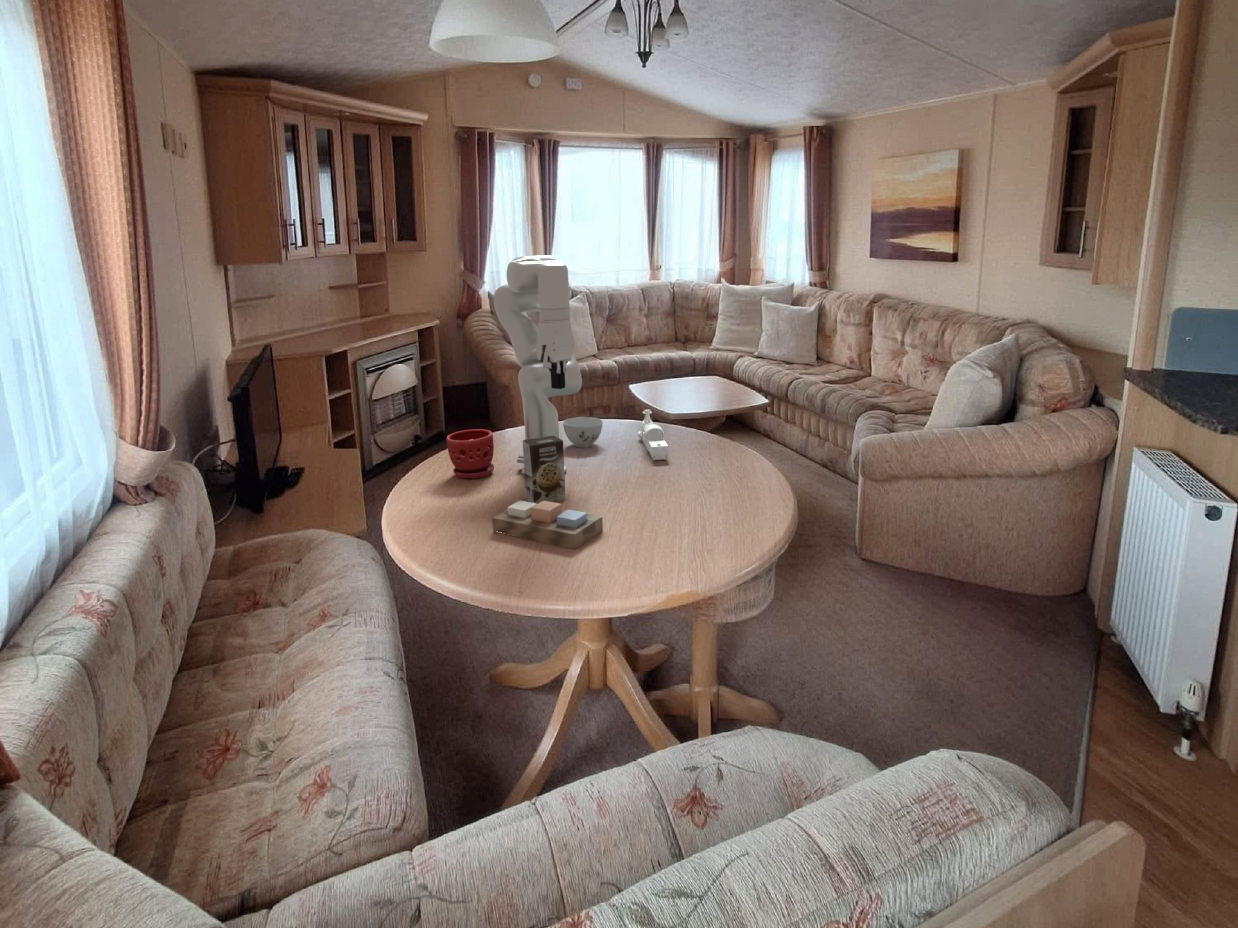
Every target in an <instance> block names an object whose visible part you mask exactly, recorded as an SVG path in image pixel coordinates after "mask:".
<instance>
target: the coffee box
mask: <svg viewBox="0 0 1238 928" xmlns="http://www.w3.org/2000/svg"><path fill="white" fill-rule="evenodd" d="M522 449H523V450H522V452H523V453H522V455H523V456H524V463H523V468H524V475H525V476H524V475H523V476H524V491H525V493H524V494H525V499H526V501H527V502H531V503H536V504H538V503H540V502H542V501H549V502H554V503H555V502H558V501H563V500H564V501H565V500H566V499H567V498H566V495H567V494H566V479H565V478H566V477H565V476H566V472H564V465H565V453H564V452H565V451H564V440H562V439H561V438H560V437H559V438H557V437H555V436H548V437H541V438H535V439H528V440H526V439H524V440H522Z"/></svg>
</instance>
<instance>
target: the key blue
mask: <svg viewBox="0 0 1238 928" xmlns="http://www.w3.org/2000/svg"><path fill="white" fill-rule="evenodd" d="M566 510H567V511H565V512H564V513H562V514H560V515H559V516H557V525H562V526H567V527H572V528H577V527H579V526H580V525H582V524H583V523H585V522H587V514H588V513H587V512H584V511H579V510H573V509H566Z"/></svg>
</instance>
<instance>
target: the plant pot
mask: <svg viewBox="0 0 1238 928" xmlns="http://www.w3.org/2000/svg"><path fill="white" fill-rule="evenodd" d="M445 440H446V447H447V451H448V455H449V458H450V461H451V463H452V465H453V466H454V468H453V471H452V472H453V474H454V475H455V476H456V477H458V478H461V477H462V479H463V478H465V479H469V478H471V479H478V478H479V477H480V478H483V477H487V476H489V475H491V474H492V473H493V471H494V469H495V465H494V464H493V463H492V461H493V458H494V452H495V451H494V448H495V446H494V435H493V432H492V431H491V430H489V429H484V428H483V429H482V428H481V429H480V428H479V429H474V428H473V429H465V430H460V431H455V432H453V433H450V434H448V435H447V437H446V439H445Z"/></svg>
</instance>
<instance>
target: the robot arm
mask: <svg viewBox="0 0 1238 928" xmlns="http://www.w3.org/2000/svg"><path fill="white" fill-rule="evenodd" d="M506 281H507V284H503V285H501V286H499V287H498V288H497V289H496V290H495V291H494V293H493V305H494V309H495V313H496V316H497V318H498V320H499V322H500V324H501V326H502V327H503V329H504V330H505V331H506V333H507V334H508V336H509V339H510V342H511V346H512V349H513V352H514V355H515V358H516V361H517V363H518V365H519V366H520V367H521V368H520V370H519V371H518V374H517V377H518V378H517V380H518V382H517V383H518V386H519V392H520V396H521V400H522V408H523V409H522V410H523V419H524V420H523V421H524V436H525V439H524V440H528V439H535V438H541V437H548V436H555V437H557V438H559V439H560V432H559V431H560V430H559V414H558V409H557V408H556V406H555V405H554V404H553V403H552V402H550V401H549V398H552V397H559V396H567V395H568V396H569V395H574V394H576V393H578V392H579V391H580V390H581V388H582V385H583V379H582V374H581V368H580V366H579V364H578V360H577V358H576V355H575V353H574V338H573V337H574V336H573V335H574V334H573V330H572V329H573V328H572V324H571V311H570V310H571V308H570V289H569V287H570V285H569V284H570V283H569V268H568V266H567V264H565V263H563V262H562V261H560V260H557V259H556V258H555V257H554V256H552V255H549V254H548V255H546V254H545V255H544V254H543V255H525V256H518V257H515V258H513V259H512V260H511V261H509V263H508V264H507V268H506ZM532 312H533V313H535V312H539V316H538V317H539V322H538V326H537V324H536V323H535V322H534V321H533V320H532V319H530V318H529V317H528V316H526V315H524V314H523V313H532ZM516 462H517V464H524V456H523V453H522V454H519V455H518V458H517V459H516ZM564 472H565V473H566V472H567V466H566V465H565V464H564ZM521 473H522V475H523V476H524V477H525V475H524V467H523V468H522V469H521Z"/></svg>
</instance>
